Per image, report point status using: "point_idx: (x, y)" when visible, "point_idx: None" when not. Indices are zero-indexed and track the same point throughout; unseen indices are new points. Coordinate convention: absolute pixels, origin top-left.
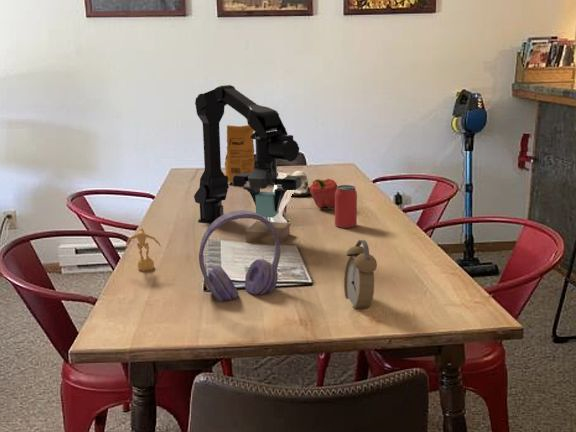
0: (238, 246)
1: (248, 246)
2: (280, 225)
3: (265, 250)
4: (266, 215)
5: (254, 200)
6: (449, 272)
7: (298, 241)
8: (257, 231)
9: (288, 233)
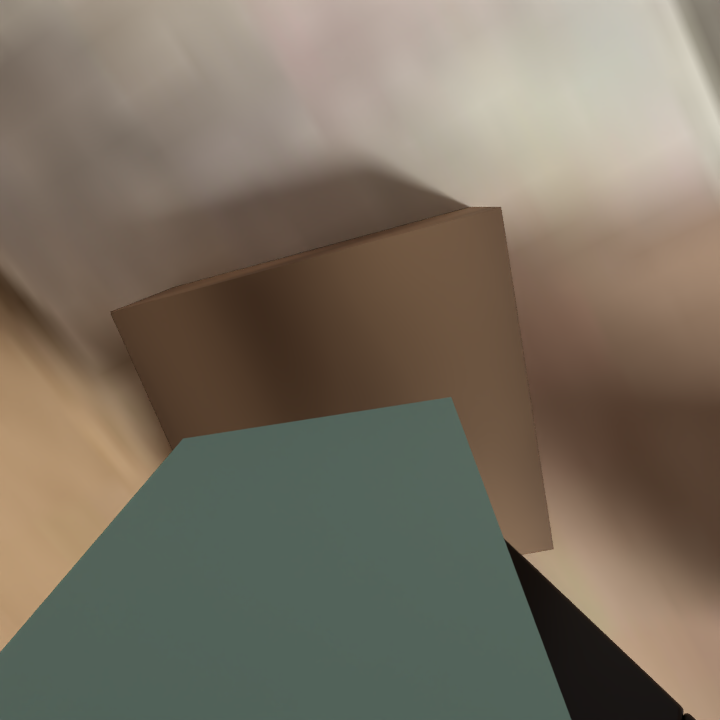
0: (497, 92)
1: (409, 142)
2: None
3: (208, 117)
4: (272, 437)
5: (629, 693)
6: None
7: (129, 438)
8: (367, 261)
9: None
